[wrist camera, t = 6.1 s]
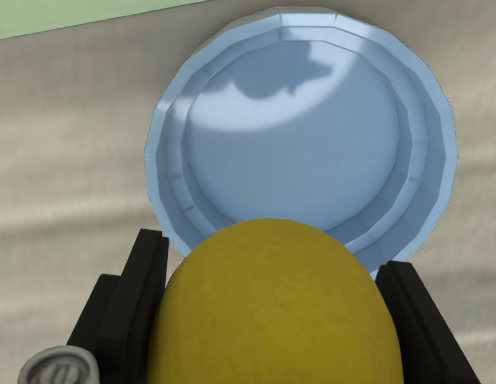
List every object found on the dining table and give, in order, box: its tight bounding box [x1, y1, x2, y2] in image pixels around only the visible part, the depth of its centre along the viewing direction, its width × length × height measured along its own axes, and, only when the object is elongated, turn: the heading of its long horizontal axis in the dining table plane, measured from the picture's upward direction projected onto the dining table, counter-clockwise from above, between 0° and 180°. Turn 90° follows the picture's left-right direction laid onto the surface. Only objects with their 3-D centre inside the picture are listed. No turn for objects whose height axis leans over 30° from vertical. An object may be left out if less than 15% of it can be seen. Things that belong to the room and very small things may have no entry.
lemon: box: [146, 218, 404, 384], centre depth 10 cm, size 6×6×8 cm
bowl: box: [144, 6, 458, 281], centre depth 25 cm, size 15×15×5 cm
